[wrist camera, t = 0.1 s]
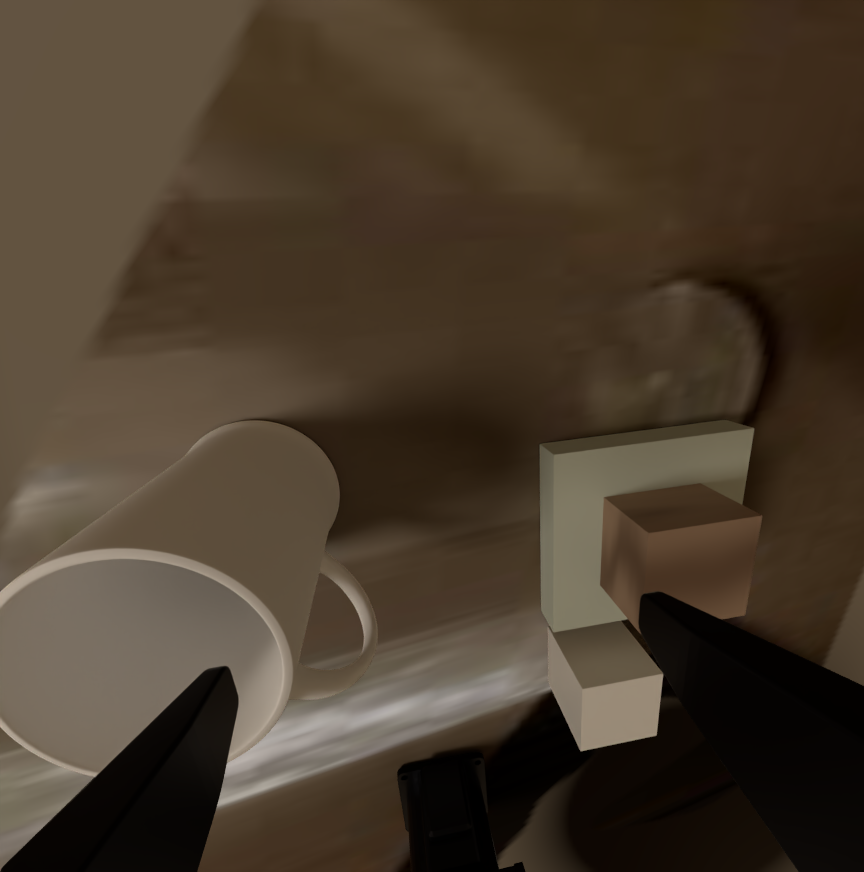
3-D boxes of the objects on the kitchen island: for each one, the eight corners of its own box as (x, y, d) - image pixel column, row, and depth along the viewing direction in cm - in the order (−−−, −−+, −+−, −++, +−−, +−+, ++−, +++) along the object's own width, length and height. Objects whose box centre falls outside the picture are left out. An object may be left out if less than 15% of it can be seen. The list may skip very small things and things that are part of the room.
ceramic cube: (612, 668, 30) (656, 735, 25) (547, 680, 29) (580, 751, 24) (615, 613, 28) (663, 673, 24) (547, 625, 28) (582, 689, 23)
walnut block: (689, 570, 25) (744, 614, 21) (599, 585, 25) (640, 634, 21) (700, 483, 23) (762, 515, 20) (603, 497, 23) (648, 533, 19)
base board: (703, 582, 28) (727, 601, 26) (541, 610, 27) (553, 632, 25) (725, 419, 25) (754, 428, 23) (539, 443, 24) (553, 454, 22)
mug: (413, 512, 24) (446, 692, 12) (325, 610, 25) (281, 856, 14) (239, 386, 21) (66, 474, 9) (147, 506, 22) (-110, 716, 10)
